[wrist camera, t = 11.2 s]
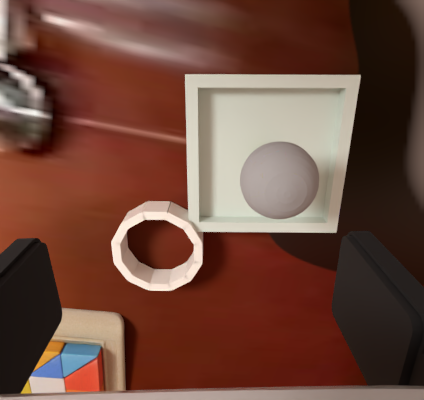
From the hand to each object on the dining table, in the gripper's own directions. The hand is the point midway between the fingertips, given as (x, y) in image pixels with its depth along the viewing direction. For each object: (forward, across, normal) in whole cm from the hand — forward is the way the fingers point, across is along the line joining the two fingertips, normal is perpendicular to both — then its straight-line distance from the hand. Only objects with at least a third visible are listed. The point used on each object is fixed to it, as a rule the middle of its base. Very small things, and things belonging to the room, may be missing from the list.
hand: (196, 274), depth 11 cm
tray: (+21, -6, +2) cm, 22 cm away
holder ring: (+21, +5, +11) cm, 24 cm away
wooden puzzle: (+22, +19, +28) cm, 41 cm away
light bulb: (+21, -5, +2) cm, 21 cm away
